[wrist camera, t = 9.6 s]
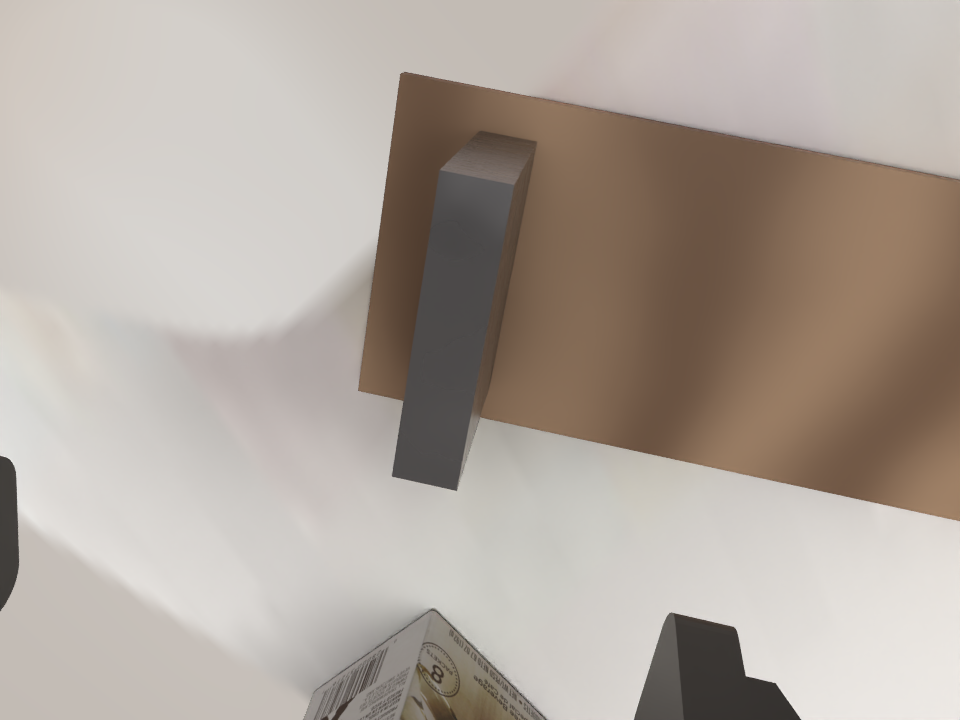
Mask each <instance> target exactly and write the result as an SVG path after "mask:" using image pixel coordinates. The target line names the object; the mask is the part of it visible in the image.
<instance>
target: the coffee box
mask: <svg viewBox="0 0 960 720" xmlns="http://www.w3.org/2000/svg"><path fill="white" fill-rule="evenodd" d="M303 720H545V719H544V718H543V717H542V716H541V715H540V714H539V713H538V712H537V711H536V710H535V709H534V708H533V707H532V706H531V705H530V704H529V703H528V702H527V701H526V700H525V699H524V698H523V697H522V696H521V695H520V694H519V693H518V692H517V691H516V690H515V689H514V688H513V687H512V686H511V685H510V684H509V683H508V682H507V681H506V680H505V679H504V678H502V677H501V676H500V675H499V674H498V673H497V672H496V671H495V670H494V669H493V668H492V667H491V666H490V665H489V664H488V663H487V662H486V661H485V660H484V659H483V658H482V657H481V656H480V655H479V654H478V653H477V652H476V651H475V650H474V649H473V648H472V647H471V646H470V645H469V644H468V643H467V642H466V641H465V640H464V639H463V638H462V637H461V636H460V635H459V634H458V633H457V632H456V631H455V630H454V629H453V628H452V627H451V626H450V625H449V624H448V623H447V622H446V621H445V620H444V619H443V618H442V617H441V616H440V615H439V614H438V613H437V612H435V611H430V612H428V613H427V614H425V615H424V616H422V617H421V618H420V619H418V620H417V621H415V622H414V623H412V624H411V625H409V626H408V627H406V628H405V629H404V630H402V631H401V632H399V633H398V634H396V635H395V636H394V637H392V638H391V639H389V640H388V641H386V642H385V643H383V644H382V645H381V646H379V647H378V648H376V649H375V650H373V651H372V652H371V653H369V654H368V655H366V656H365V657H363V658H362V659H360V660H359V661H358V662H356V663H355V664H353V665H352V666H350V667H349V668H348V669H346V670H345V671H343V672H342V673H340V674H339V675H337V676H336V677H335V678H333V679H332V680H330V681H329V682H328V683H326V684H325V685H323V686H322V687H320V688H319V689H317V690H316V691H315V692H314V693H313V696H312V698H311V701H310V704H309V706H308V709H307V712H306V714H305V716H304V719H303Z"/></svg>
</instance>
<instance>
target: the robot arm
mask: <svg viewBox="0 0 960 720" xmlns="http://www.w3.org/2000/svg"><path fill="white" fill-rule="evenodd" d="M18 568H19V547H18V516H17V486H16V471H15V468H14V465H13V463H12V462H11V461H10V460H9V459H8V458H6V457H2V456H0V611H1V609H2V608H3V607H4V605H5V603H6V602H7V600H8V598H9V596H10V594H11V592H12V590H13V587H14V584H15V581H16V578H17V574H18ZM634 720H801V719H800V717H799V716H798V715H797V713H796V712H795V710H794V709H793V708H792V706H791V705H790V703H789V702H788V700H787V699H786V698H785V696H784V695H783V693H782V692H781V690H780V689H779V688H778V686H777V685H776V683H772V682H768V681H763V680H759V679H755V678H750V677H746V676H745V671H744V665H743V660H742V654H741V649H740V643H739V638H738V634H737V631H736V629H735V628H734V627H731V626H727V625H723V624H718V623H714V622H710V621H705V620H701V619H697V618H692V617H688V616H684V615H679V614H675V613H669V615H668V616H667V618H666V620H665V622H664V625H663V627H662V630H661V634H660V637H659V640H658V643H657V647H656V650H655V653H654V656H653V659H652V663H651V666H650V669H649V672H648V675H647V679H646V682H645V685H644V688H643V691H642V695H641V698H640V701H639V704H638V707H637V711H636V714H635V718H634Z"/></svg>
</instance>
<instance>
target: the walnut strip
mask: <svg viewBox="0 0 960 720" xmlns="http://www.w3.org/2000/svg"><path fill="white" fill-rule="evenodd" d="M358 391H361V392H366V393H371V394H375V395H380V396H384V397H389V398H394V399H398V400H403V401H404V402H403V408H402V415H401V421H400V428H399V434H398V441H397V447H396V453H395V460H394V466H393V473H392V476H393V477H397V478H402V479H406V480H411V481H415V482H420V483H424V484H429V485H433V486H438V487H442V488H447V489H451V490H456V491H457V488H458V485H459V482H460V479H461V476H462V473H463V469H464V466H465V463H466V460H467V457H468V454H469V450H470V447H471V444H472V441H473V438H474V435H475V432H476V428H477V425H478V422H479V419H480V417H481V418H486V419H491V420H495V421H500V422H505V423H509V424H514V425H518V426H523V427H528V428H532V429H537V430H541V431H546V432H551V433H555V434H560V435H565V436H569V437H574V438H578V439H583V440H588V441H592V442H597V443H601V444H606V445H611V446H615V447H620V448H625V449H629V450H634V451H638V452H643V453H648V454H652V455H657V456H662V457H666V458H671V459H675V460H680V461H685V462H689V463H694V464H698V465H703V466H708V467H712V468H717V469H722V470H726V471H731V472H735V473H740V474H745V475H749V476H754V477H758V478H763V479H768V480H772V481H777V482H782V483H786V484H791V485H795V486H800V487H805V488H809V489H814V490H818V491H823V492H828V493H832V494H837V495H842V496H846V497H851V498H855V499H860V500H865V501H869V502H874V503H879V504H883V505H888V506H892V507H897V508H902V509H906V510H911V511H915V512H920V513H925V514H929V515H934V516H939V517H943V518H948V519H952V520H957V521H960V180H957V179H952V178H947V177H942V176H937V175H931V174H926V173H921V172H916V171H911V170H906V169H901V168H895V167H890V166H885V165H880V164H875V163H870V162H865V161H859V160H854V159H849V158H844V157H839V156H834V155H829V154H824V153H818V152H813V151H808V150H803V149H798V148H793V147H788V146H782V145H777V144H772V143H767V142H762V141H757V140H752V139H746V138H741V137H736V136H731V135H726V134H721V133H716V132H711V131H705V130H700V129H695V128H690V127H685V126H680V125H675V124H669V123H664V122H659V121H654V120H649V119H644V118H639V117H633V116H628V115H623V114H618V113H613V112H608V111H603V110H598V109H592V108H587V107H582V106H577V105H572V104H567V103H562V102H556V101H551V100H546V99H541V98H536V97H531V96H526V95H520V94H515V93H510V92H505V91H500V90H495V89H490V88H484V87H479V86H474V85H469V84H464V83H459V82H453V81H449V80H443V79H438V78H433V77H428V76H422V75H418V74H413V73H407V72H404V73H401V74H400V81H399V88H398V96H397V103H396V111H395V118H394V126H393V133H392V141H391V149H390V156H389V163H388V171H387V178H386V186H385V193H384V201H383V208H382V216H381V223H380V231H379V238H378V245H377V253H376V260H375V268H374V275H373V283H372V290H371V298H370V305H369V313H368V320H367V328H366V335H365V343H364V350H363V358H362V365H361V373H360V380H359V388H358Z"/></svg>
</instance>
